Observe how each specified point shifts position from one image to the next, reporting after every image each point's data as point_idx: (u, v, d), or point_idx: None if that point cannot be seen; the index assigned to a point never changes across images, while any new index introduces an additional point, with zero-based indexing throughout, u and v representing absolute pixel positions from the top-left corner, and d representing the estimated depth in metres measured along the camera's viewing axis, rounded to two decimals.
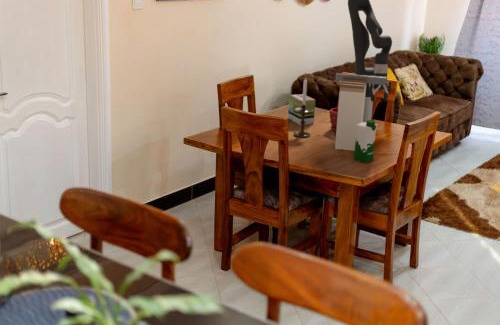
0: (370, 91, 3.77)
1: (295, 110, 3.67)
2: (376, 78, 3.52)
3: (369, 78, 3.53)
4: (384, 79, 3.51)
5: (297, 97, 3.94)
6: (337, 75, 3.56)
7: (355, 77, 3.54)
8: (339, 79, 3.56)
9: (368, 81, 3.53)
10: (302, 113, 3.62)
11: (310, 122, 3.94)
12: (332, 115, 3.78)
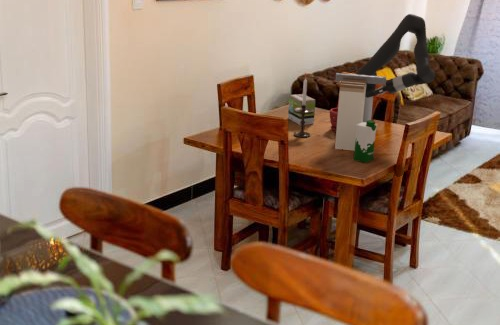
0: (375, 95, 3.56)
1: (295, 110, 3.67)
2: (376, 78, 3.52)
3: (369, 78, 3.53)
4: (384, 79, 3.51)
5: (297, 97, 3.94)
6: (337, 75, 3.56)
7: (355, 77, 3.54)
8: (339, 79, 3.56)
9: (368, 81, 3.53)
10: (302, 113, 3.62)
11: (310, 122, 3.94)
12: (332, 115, 3.78)
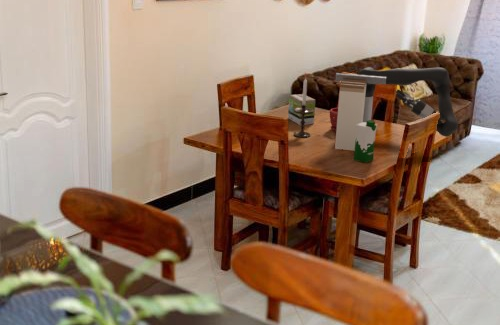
0: (404, 103, 3.47)
1: (295, 110, 3.67)
2: (376, 78, 3.52)
3: (369, 78, 3.53)
4: (384, 79, 3.51)
5: (297, 97, 3.94)
6: (337, 75, 3.56)
7: (355, 77, 3.54)
8: (339, 79, 3.56)
9: (368, 81, 3.53)
10: (302, 113, 3.62)
11: (310, 122, 3.94)
12: (332, 115, 3.78)
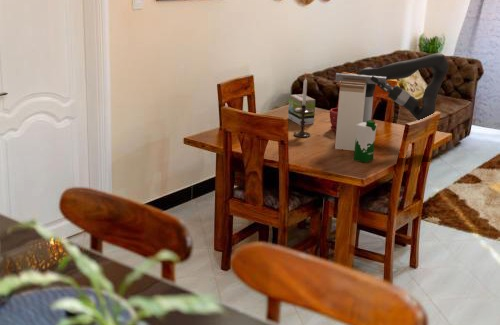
0: (378, 86, 3.50)
1: (295, 110, 3.67)
2: None
3: (369, 78, 3.53)
4: (384, 79, 3.51)
5: (297, 97, 3.94)
6: (337, 75, 3.56)
7: (355, 77, 3.54)
8: (339, 79, 3.56)
9: (368, 81, 3.53)
10: (302, 113, 3.62)
11: (310, 122, 3.94)
12: (332, 115, 3.78)
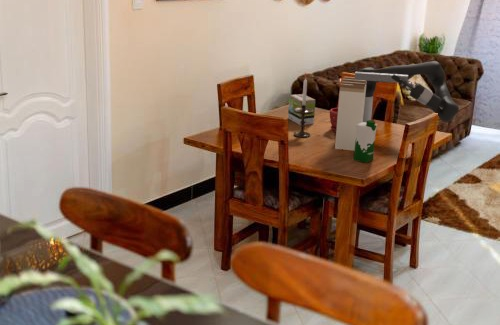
0: None
1: (295, 110, 3.67)
2: None
3: (390, 76, 3.38)
4: (406, 77, 3.37)
5: (297, 97, 3.94)
6: (356, 74, 3.41)
7: (375, 76, 3.39)
8: (358, 78, 3.42)
9: (389, 79, 3.39)
10: (302, 113, 3.62)
11: (310, 122, 3.94)
12: (332, 115, 3.78)
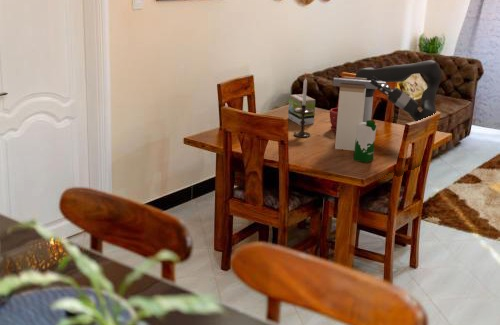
0: (379, 90, 3.36)
1: (295, 110, 3.67)
2: None
3: (368, 83, 3.41)
4: (383, 84, 3.39)
5: (297, 97, 3.94)
6: (335, 80, 3.44)
7: (353, 82, 3.42)
8: (337, 84, 3.44)
9: (367, 86, 3.41)
10: (302, 113, 3.62)
11: (310, 122, 3.94)
12: (332, 115, 3.78)
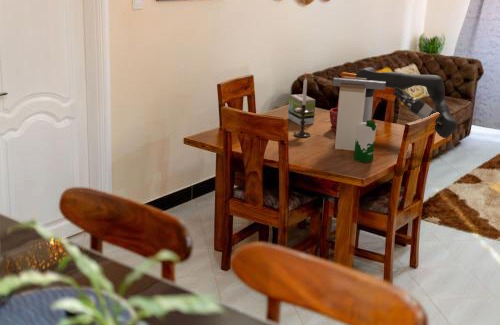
0: (402, 102, 3.37)
1: (295, 110, 3.67)
2: (375, 83, 3.40)
3: (368, 83, 3.41)
4: (383, 84, 3.39)
5: (297, 97, 3.94)
6: (335, 80, 3.44)
7: (353, 82, 3.42)
8: (337, 84, 3.44)
9: (367, 86, 3.41)
10: (302, 113, 3.62)
11: (310, 122, 3.94)
12: (332, 115, 3.78)
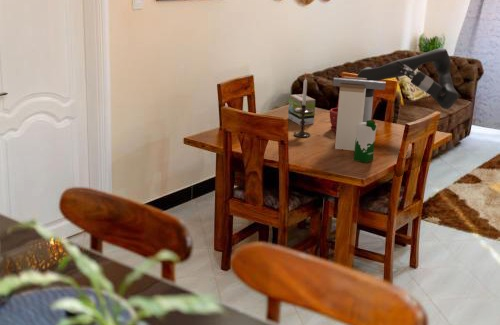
0: (404, 74, 3.44)
1: (295, 110, 3.67)
2: (375, 83, 3.40)
3: (368, 83, 3.41)
4: (383, 84, 3.39)
5: (297, 97, 3.94)
6: (335, 80, 3.44)
7: (353, 82, 3.42)
8: (337, 84, 3.44)
9: (367, 86, 3.41)
10: (302, 113, 3.62)
11: (310, 122, 3.94)
12: (332, 115, 3.78)
